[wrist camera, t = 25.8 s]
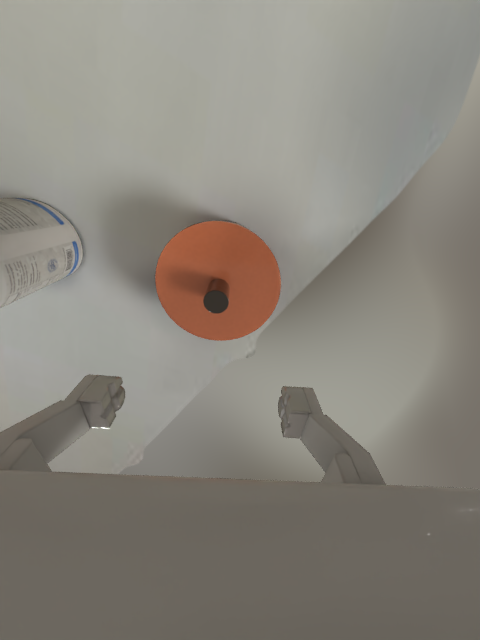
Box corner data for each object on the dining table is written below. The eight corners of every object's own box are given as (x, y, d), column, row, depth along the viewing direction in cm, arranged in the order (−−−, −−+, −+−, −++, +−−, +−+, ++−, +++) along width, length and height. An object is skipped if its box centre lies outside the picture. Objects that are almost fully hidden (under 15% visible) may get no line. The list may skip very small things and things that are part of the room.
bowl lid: (290, 226, 22) (302, 233, 17) (269, 339, 28) (274, 362, 24) (152, 213, 21) (132, 216, 17) (163, 331, 27) (150, 354, 23)
